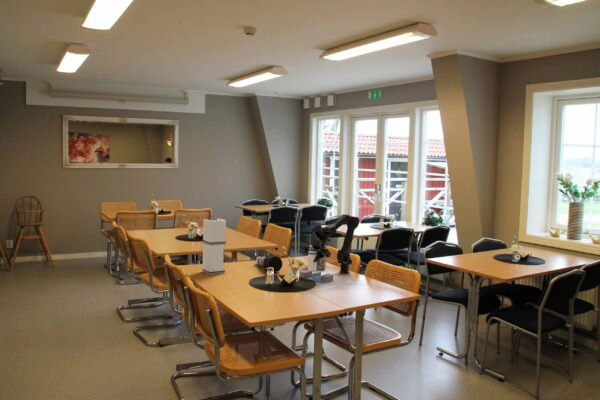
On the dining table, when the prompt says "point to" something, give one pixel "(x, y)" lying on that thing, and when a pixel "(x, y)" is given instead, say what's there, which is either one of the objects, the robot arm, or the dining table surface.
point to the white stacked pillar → (213, 246)
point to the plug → (311, 264)
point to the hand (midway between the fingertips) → (311, 261)
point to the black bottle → (270, 262)
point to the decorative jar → (321, 261)
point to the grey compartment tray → (316, 276)
